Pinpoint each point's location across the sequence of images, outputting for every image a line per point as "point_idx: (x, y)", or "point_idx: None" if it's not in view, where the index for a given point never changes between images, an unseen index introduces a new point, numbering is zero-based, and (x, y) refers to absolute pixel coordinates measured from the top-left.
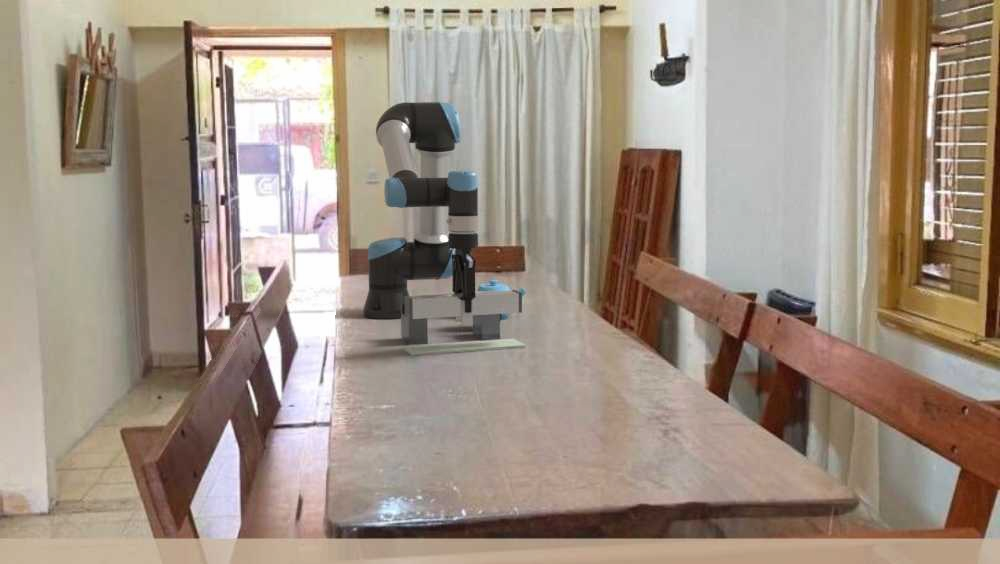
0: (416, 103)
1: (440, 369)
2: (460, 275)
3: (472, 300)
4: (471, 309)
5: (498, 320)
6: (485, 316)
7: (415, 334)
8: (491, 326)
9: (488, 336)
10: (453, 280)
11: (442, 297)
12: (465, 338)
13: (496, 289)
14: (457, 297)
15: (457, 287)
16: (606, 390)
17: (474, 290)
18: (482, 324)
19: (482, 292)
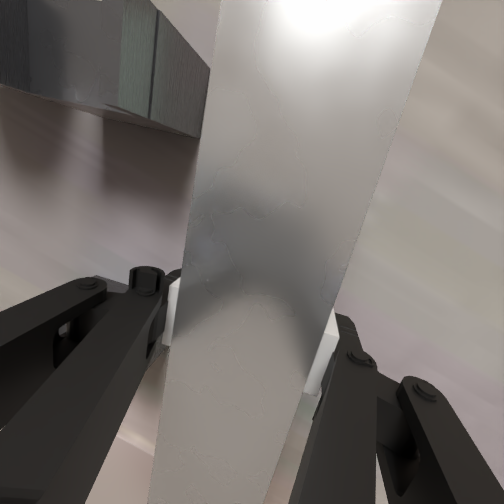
0: None
1: (479, 441)
2: (76, 491)
3: (337, 333)
4: (354, 326)
5: (178, 41)
6: (159, 104)
7: (157, 343)
8: (185, 88)
9: (199, 113)
10: (25, 401)
11: (264, 496)
12: (154, 174)
13: None
14: (289, 423)
15: (139, 380)
16: None
17: (471, 452)
18: (175, 127)
19: (207, 176)
